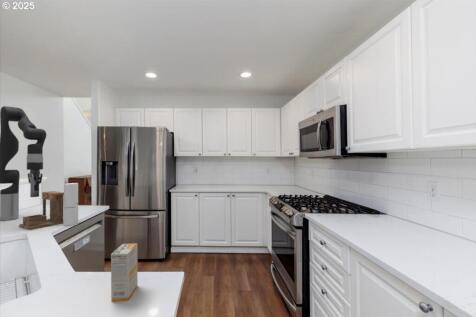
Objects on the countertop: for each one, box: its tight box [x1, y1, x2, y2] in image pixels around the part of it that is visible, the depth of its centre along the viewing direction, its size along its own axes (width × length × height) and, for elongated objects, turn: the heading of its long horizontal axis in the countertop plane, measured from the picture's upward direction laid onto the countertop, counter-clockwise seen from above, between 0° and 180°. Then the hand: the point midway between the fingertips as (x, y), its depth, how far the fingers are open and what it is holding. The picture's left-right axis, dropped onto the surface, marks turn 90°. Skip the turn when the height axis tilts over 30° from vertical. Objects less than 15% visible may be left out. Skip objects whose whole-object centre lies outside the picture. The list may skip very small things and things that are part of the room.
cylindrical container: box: [63, 182, 79, 227], centre depth 148 cm, size 7×7×25 cm
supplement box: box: [110, 243, 139, 302], centre depth 70 cm, size 8×5×13 cm, turn 5°
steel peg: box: [29, 177, 40, 198], centre depth 144 cm, size 4×4×12 cm
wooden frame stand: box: [18, 190, 64, 231], centre depth 147 cm, size 15×18×19 cm
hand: (34, 190), depth 144 cm, fingers closed on steel peg, 4 cm apart
